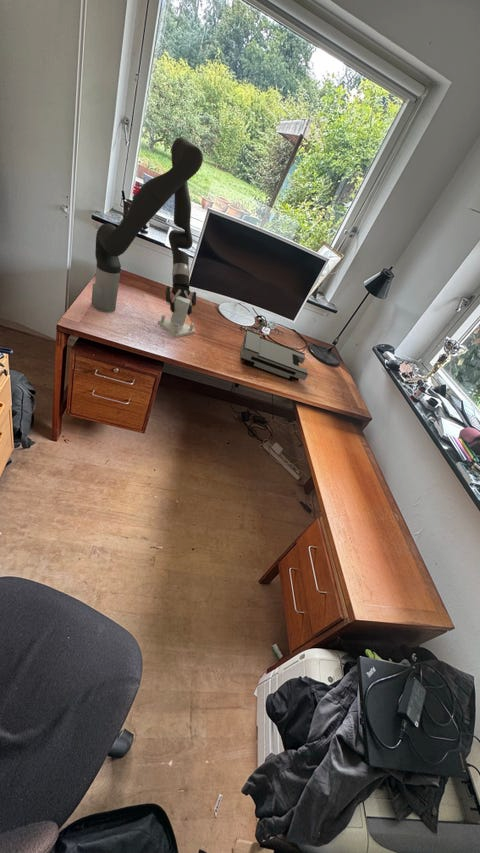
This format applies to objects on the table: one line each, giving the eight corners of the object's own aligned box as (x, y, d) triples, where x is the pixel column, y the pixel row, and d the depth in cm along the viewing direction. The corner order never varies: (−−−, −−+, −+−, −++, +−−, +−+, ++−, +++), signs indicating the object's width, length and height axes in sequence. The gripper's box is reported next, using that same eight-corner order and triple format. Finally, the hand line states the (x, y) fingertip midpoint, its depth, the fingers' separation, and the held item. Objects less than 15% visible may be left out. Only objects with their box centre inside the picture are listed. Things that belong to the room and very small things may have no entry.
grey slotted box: (300, 386, 163) (309, 373, 158) (238, 363, 157) (244, 349, 152) (298, 364, 179) (305, 351, 174) (241, 343, 173) (247, 329, 168)
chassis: (175, 337, 154) (178, 329, 151) (157, 323, 157) (159, 314, 155) (194, 332, 163) (196, 325, 160) (176, 319, 166) (178, 311, 164)
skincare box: (184, 323, 161) (191, 300, 153) (182, 327, 158) (188, 303, 150) (172, 318, 160) (178, 294, 152) (169, 322, 157) (175, 298, 149)
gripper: (168, 269, 147) (168, 308, 147) (198, 276, 154) (199, 313, 154) (162, 276, 153) (163, 313, 154) (192, 282, 161) (192, 317, 161)
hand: (181, 313), depth 154 cm, fingers closed on skincare box, 7 cm apart
